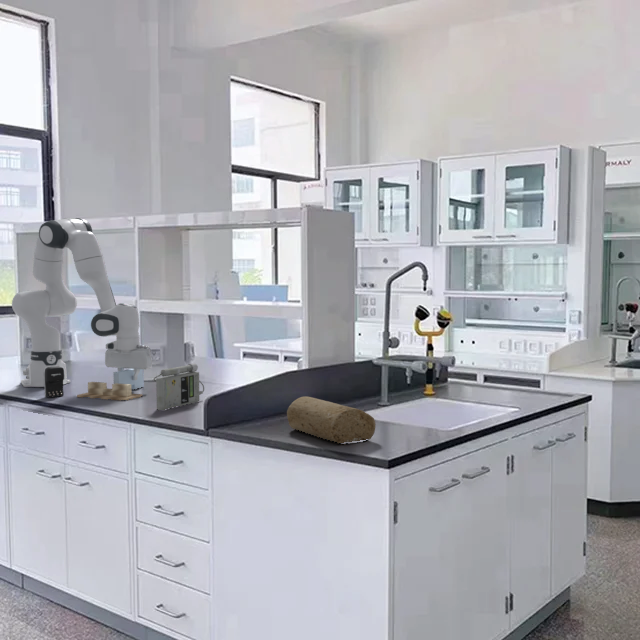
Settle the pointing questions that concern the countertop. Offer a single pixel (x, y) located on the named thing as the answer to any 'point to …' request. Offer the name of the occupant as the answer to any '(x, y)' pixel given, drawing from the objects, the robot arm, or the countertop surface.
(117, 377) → the blue plate
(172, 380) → the geiger counter
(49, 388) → the battery
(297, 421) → the core sample
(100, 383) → the joint jig
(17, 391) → the countertop surface
